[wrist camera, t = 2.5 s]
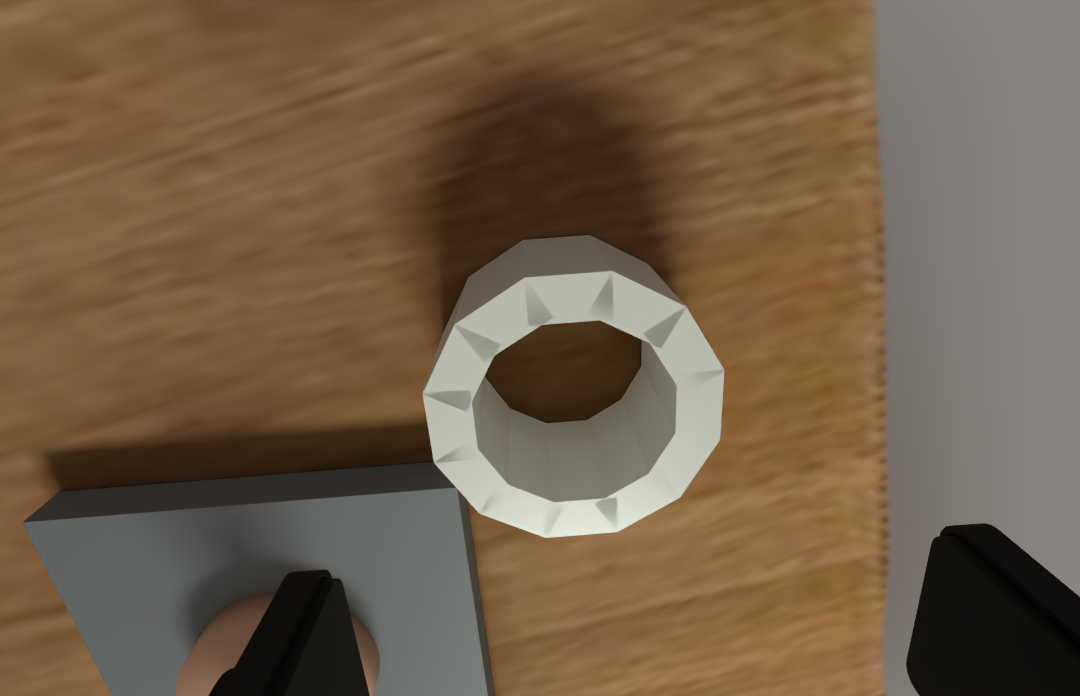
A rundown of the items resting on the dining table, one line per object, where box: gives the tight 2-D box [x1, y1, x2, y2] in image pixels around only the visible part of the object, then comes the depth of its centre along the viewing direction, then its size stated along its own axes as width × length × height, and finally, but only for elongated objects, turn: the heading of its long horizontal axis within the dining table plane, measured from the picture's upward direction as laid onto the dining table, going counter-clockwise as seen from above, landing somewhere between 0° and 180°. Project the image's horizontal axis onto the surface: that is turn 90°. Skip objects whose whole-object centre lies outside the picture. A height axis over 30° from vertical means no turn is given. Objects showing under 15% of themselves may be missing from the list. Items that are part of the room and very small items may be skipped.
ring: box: [423, 235, 724, 538], centre depth 15 cm, size 7×7×4 cm
